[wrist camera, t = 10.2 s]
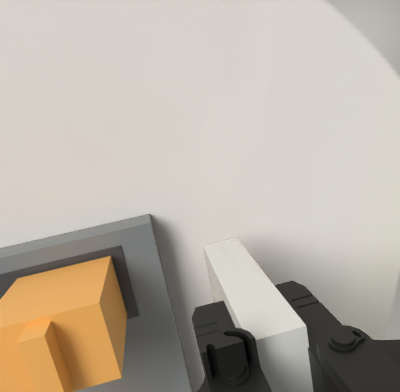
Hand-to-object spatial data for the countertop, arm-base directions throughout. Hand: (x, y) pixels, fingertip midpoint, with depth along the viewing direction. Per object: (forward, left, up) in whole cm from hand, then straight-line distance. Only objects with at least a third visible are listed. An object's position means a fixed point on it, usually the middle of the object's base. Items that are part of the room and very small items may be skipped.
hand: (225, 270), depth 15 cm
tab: (-7, 0, -1) cm, 7 cm away
